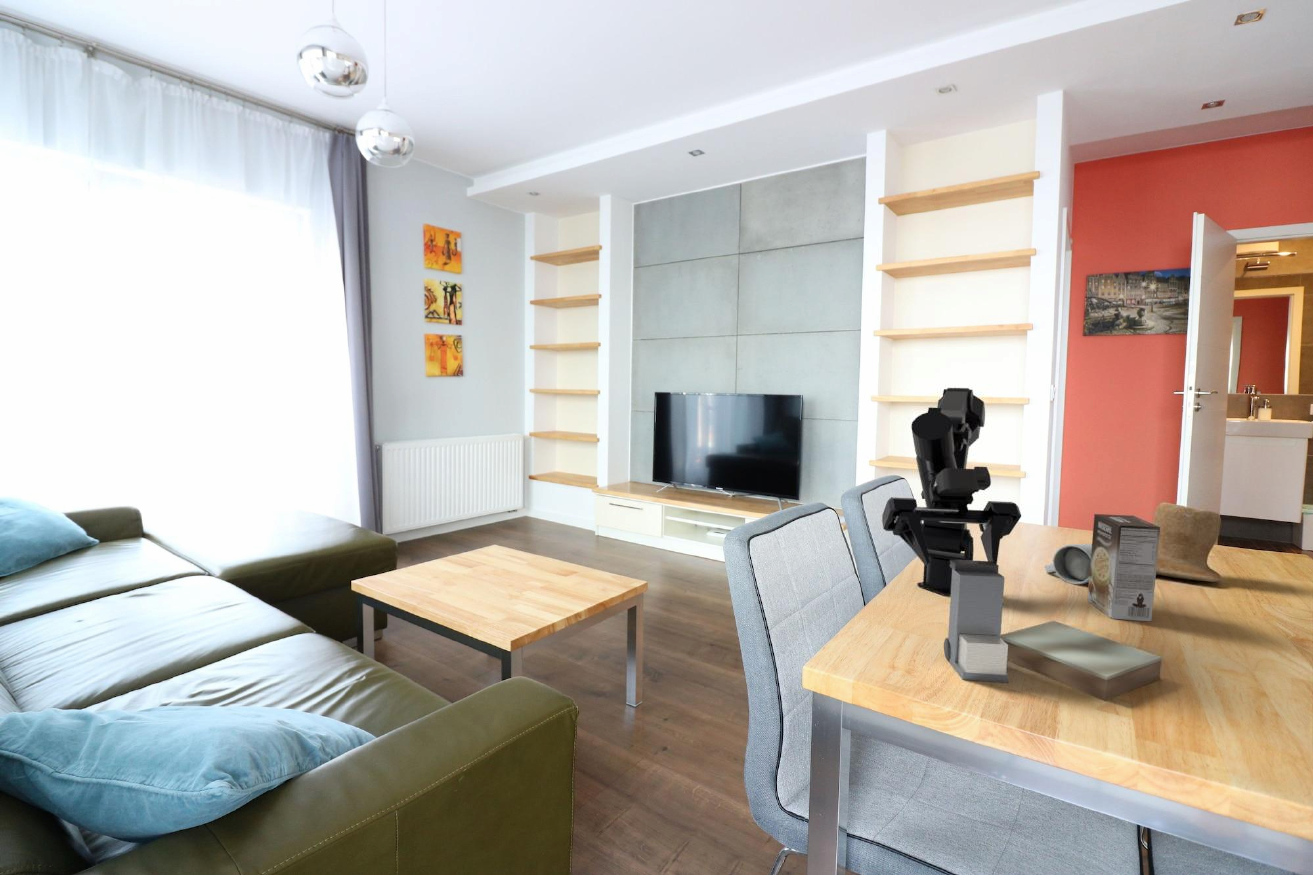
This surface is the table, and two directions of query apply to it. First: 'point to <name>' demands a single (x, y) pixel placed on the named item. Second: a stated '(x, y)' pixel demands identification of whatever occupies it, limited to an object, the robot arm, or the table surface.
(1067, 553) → the ceramic mug
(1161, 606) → the table surface
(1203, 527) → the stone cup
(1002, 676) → the hand trolley
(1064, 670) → the plate
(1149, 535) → the coffee box
